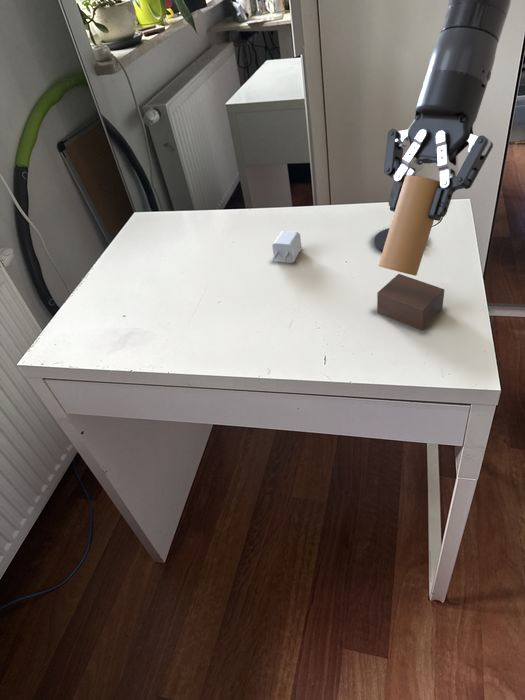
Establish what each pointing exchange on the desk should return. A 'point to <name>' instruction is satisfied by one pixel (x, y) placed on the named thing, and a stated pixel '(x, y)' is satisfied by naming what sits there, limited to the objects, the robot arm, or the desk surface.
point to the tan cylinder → (410, 225)
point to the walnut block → (410, 301)
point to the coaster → (381, 239)
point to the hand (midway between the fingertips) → (414, 215)
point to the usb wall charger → (286, 246)
